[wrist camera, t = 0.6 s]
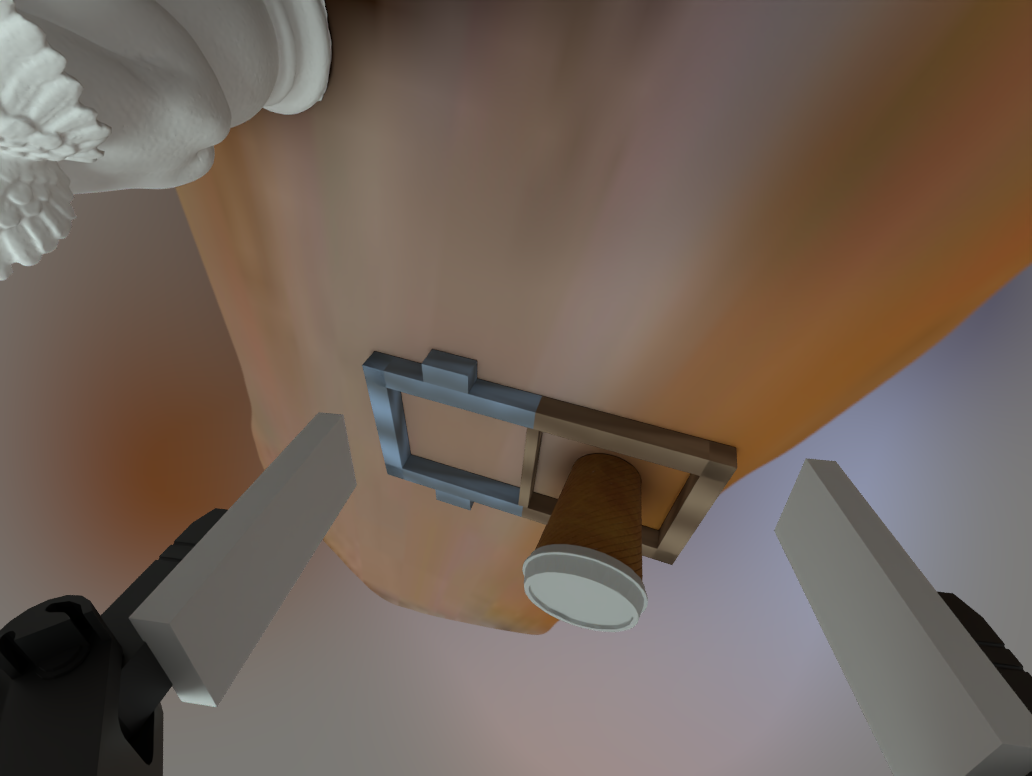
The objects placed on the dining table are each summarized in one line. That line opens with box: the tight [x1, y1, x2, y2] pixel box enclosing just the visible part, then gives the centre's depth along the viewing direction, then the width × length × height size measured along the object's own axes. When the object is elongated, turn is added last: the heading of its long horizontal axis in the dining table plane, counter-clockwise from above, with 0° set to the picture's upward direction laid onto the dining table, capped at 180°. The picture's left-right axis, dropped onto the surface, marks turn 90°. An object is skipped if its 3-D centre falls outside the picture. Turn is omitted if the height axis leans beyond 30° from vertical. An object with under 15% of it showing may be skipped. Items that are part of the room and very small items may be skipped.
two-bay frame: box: [362, 349, 737, 565], centre depth 42 cm, size 20×31×2 cm, turn 86°
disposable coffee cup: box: [523, 454, 648, 632], centre depth 38 cm, size 10×10×12 cm
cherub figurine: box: [0, 0, 332, 280], centre depth 17 cm, size 12×12×22 cm
